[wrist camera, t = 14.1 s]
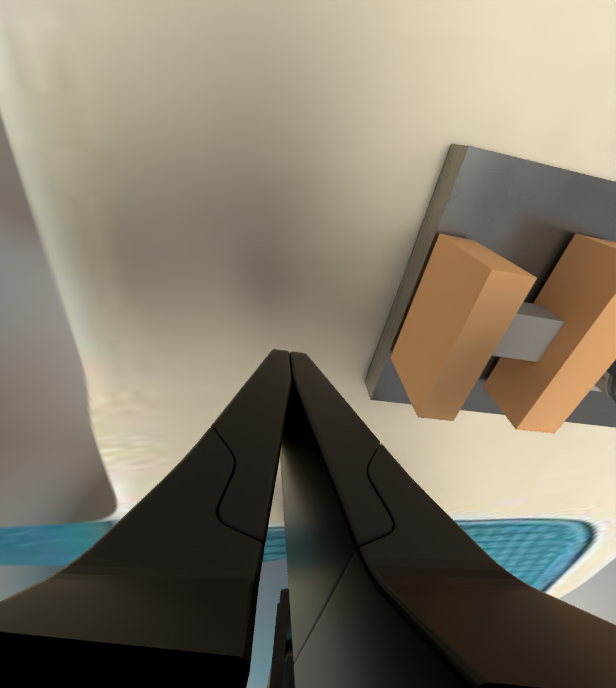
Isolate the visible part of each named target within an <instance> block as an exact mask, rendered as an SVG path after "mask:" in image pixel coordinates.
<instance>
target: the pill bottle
mask: <svg viewBox="0 0 616 688" xmlns="http://www.w3.org/2000/svg"><path fill="white" fill-rule="evenodd" d="M595 386H596V387H597V388H598V389H599V390H601V391H602V392H603V393H604V394H605V395H606V396H608V397H609V398H610V399H611V400H612V401H614V402H615V403H616V360H615V361H614V362H613V363H612V364H611V366H610V367H609V368H608V369H607V370H606V372H605V373H604V374H603V375H602V377H601V378H600V379H599V380H598V381H597V383H596V384H595Z"/></svg>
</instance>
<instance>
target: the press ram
mask: <svg viewBox="0 0 616 688" xmlns="http://www.w3.org/2000/svg"><path fill="white" fill-rule="evenodd" d="M536 279H537V277H535V276H533V275H532V274H530V273H528V272H527V271H525V270H523V269H522V268H520V267H518V266H516V265H515V264H513V263H511V262H510V261H508V260H506V259H505V258H503V257H501V256H500V255H498V254H496V253H495V252H493V251H491V250H490V249H488V248H486V247H485V246H483V245H481V244H480V243H478V242H476V241H475V240H470V239H465V238H460V237H455V236H450V235H445V234H439V236H438V239H437V241H436V244H435V246H434V249H433V251H432V254H431V256H430V259H429V262H428V264H427V267H426V269H425V272H424V274H423V277H422V279H421V282H420V284H419V287H418V289H417V292H416V294H415V297H414V299H413V302H412V304H411V307H410V310H409V312H408V315H407V317H406V320H405V322H404V325H403V327H402V330H401V332H400V335H399V337H398V340H397V342H396V345H395V347H394V350H393V352H392V355H391V357H390V358H391V360H392V362H393V364H394V366H395V369H396V371H397V373H398V375H399V377H400V379H401V382H402V384H403V386H404V388H405V390H406V392H407V395H408V397H409V399H410V401H411V403H412V405H413V408H414V410H415V412H416V414H417V416H418V417H421V418H431V419H440V420H449V421H454V419H455V417H456V416H457V414H458V412H459V411H460V409H461V407H462V406H463V404H464V402H465V400H466V399H467V397H468V395H469V394H470V392H471V390H472V388H473V387H474V385H475V383H476V382H477V380H478V378H479V377H480V375H481V373H482V371H483V370H484V368H485V366H486V365H487V363H488V361H489V359H490V358H491V356H499V357H501V358H500V359H499V361H498V363H497V364H496V366H495V368H494V369H493V371H492V372H491V374H490V376H489V377H488V379H487V381H486V382H485V384H484V386H483V387H484V388H485V390H486V391H487V392H488V393H489V395H490V396H491V397H492V399H493V400H494V401H495V403H496V404H497V405H498V406H499V408H500V409H501V410H502V412H503V413H504V414H505V416H506V417H507V418H508V420H509V421H510V422H511V423H512V425H513V426H514V427H515V429H518V430H527V431H536V432H546V433H555V432H556V431H557V430H558V429H559V427H560V426H561V425H562V424H563V423H564V421H565V420H566V419H567V418H568V417H569V415H570V414H571V413H572V412H573V411H574V409H575V408H576V407H577V406H578V404H579V403H580V402H581V401H582V400H583V398H584V397H585V396H586V395H587V394H588V392H589V391H590V390H591V389H592V387H593V386H594V385H595V384H596V383H597V381H598V380H599V379H600V378H601V377H602V375H603V374H604V373H605V372H606V370H607V369H608V368H609V367H610V366H611V364H612V363H613V362H614V361H615V360H616V242H613V241H608V240H603V239H599V238H594V237H589V236H584V235H580V234H575V235H574V237H573V238H572V240H571V242H570V243H569V245H568V247H567V248H566V250H565V252H564V253H563V255H562V257H561V258H560V260H559V262H558V263H557V265H556V267H555V268H554V270H553V272H552V273H551V275H550V277H549V278H548V280H547V281H546V283H545V285H544V286H543V288H542V290H541V291H540V293H539V295H538V296H537V298H536V300H535V301H534V303H533V304H532V303H526V302H523V301H524V300H525V298H526V296H527V295H528V293H529V291H530V289H531V288H532V286H533V284H534V283H535V281H536Z"/></svg>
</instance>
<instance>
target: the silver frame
mask: <svg viewBox="0 0 616 688" xmlns="http://www.w3.org/2000/svg"><path fill="white" fill-rule="evenodd" d="M439 234H445V235H450V236H455V237H460V238H465V239H470V240H475V241H476V242H478V243H480V244H481V245H483V246H485V247H486V248H488V249H490V250H491V251H493V252H495V253H496V254H498V255H500V256H501V257H503V258H505V259H506V260H508V261H510V262H511V263H513V264H515V265H516V266H518V267H520V268H522V269H523V270H525V271H527V272H528V273H530V274H532V275H533V276H535V277H537V279H536V281H535V283H534V284H533V286H532V288H531V289H530V291H529V293H528V295H527V296H526V298H525V300H524V301H523V302H526V303H532V304H533V303H534V301H535V300H536V298H537V296H538V295H539V293H540V291H541V290H542V288H543V286H544V285H545V283H546V281H547V280H548V278H549V277H550V275H551V273H552V272H553V270H554V268H555V267H556V265H557V263H558V262H559V260H560V258H561V257H562V255H563V253H564V252H565V250H566V248H567V247H568V245H569V243H570V242H571V240H572V238H573V237H574V235H575V234H580V235H584V236H589V237H594V238H599V239H603V240H608V241H613V242H616V182H614V181H610V180H606V179H602V178H598V177H593V176H589V175H585V174H581V173H577V172H573V171H569V170H565V169H561V168H557V167H553V166H549V165H545V164H541V163H537V162H533V161H529V160H524V159H520V158H516V157H512V156H508V155H504V154H500V153H496V152H492V151H488V150H484V149H480V148H476V147H472V146H465V145H456V144H451V147H450V150H449V153H448V155H447V158H446V161H445V164H444V166H443V169H442V172H441V175H440V177H439V180H438V183H437V186H436V188H435V191H434V194H433V197H432V199H431V202H430V205H429V207H428V210H427V213H426V216H425V218H424V221H423V224H422V227H421V229H420V232H419V235H418V238H417V240H416V243H415V246H414V249H413V251H412V254H411V257H410V260H409V262H408V265H407V268H406V271H405V273H404V276H403V279H402V282H401V284H400V287H399V290H398V293H397V295H396V298H395V301H394V303H393V306H392V309H391V312H390V314H389V317H388V320H387V323H386V325H385V328H384V331H383V334H382V336H381V339H380V342H379V345H378V347H377V350H376V353H375V356H374V358H373V361H372V364H371V367H370V369H369V372H368V375H367V378H366V380H365V384H366V387H367V390H368V393H369V397H370V400H378V401H387V402H396V403H405V404H412V403H411V401H410V399H409V397H408V395H407V392H406V390H405V388H404V386H403V384H402V382H401V379H400V377H399V375H398V373H397V371H396V369H395V366H394V364H393V362H392V360H391V358H390V357H391V355H392V352H393V350H394V347H395V345H396V342H397V340H398V337H399V335H400V332H401V330H402V327H403V325H404V322H405V320H406V317H407V315H408V312H409V310H410V307H411V304H412V302H413V299H414V297H415V294H416V292H417V289H418V287H419V284H420V282H421V279H422V277H423V274H424V272H425V269H426V267H427V264H428V262H429V259H430V256H431V254H432V251H433V249H434V246H435V244H436V241H437V239H438V236H439ZM500 358H501V357H499V356H491V358H490V359H489V361H488V363H487V365H486V366H485V368H484V370H483V371H482V373H481V375H480V377H479V378H478V380H477V382H476V383H475V385H474V387H473V388H472V390H471V392H470V394H469V395H468V397H467V399H466V400H465V402H464V404H463V406H462V407H461V409H460V410H466V411H475V412H484V413H493V414H502V415H505V414H504V413H503V412H502V410H501V409H500V408H499V406H498V405H497V404H496V403H495V401H494V400H493V399H492V397H491V396H490V395H489V393H488V392H487V391H486V390H485V388H484V387H483V386H484V384H485V382H486V381H487V379H488V377H489V376H490V374H491V372H492V371H493V369H494V368H495V366H496V364H497V363H498V361H499V359H500ZM564 422H572V423H581V424H590V425H599V426H608V427H616V403H615V402H614V401H612V400H611V399H610V398H609V397H608V396H606V395H605V394H604V393H603V392H602V391H601V390H599V389H598V388H597V387H596V386H595V385H594V386H593V387H592V389H591V390H590V391H589V392H588V394H587V395H586V396H585V397H584V398H583V400H582V401H581V402H580V403H579V404H578V406H577V407H576V408H575V409H574V411H573V412H572V413H571V414H570V415H569V417H568V418H567V419H566V420H565V421H564Z"/></svg>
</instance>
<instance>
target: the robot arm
mask: <svg viewBox="0 0 616 688" xmlns="http://www.w3.org/2000/svg"><path fill="white" fill-rule="evenodd" d="M279 458H280V460H281V476H282V491H283V506H284V522H285V537H286V553H287V567H288V582H289V588H287V589H281V595H280V603H278V604H277V616H276V626H275V636H274V646H273V657H272V665H271V670H270V675H269V680H268V685H267V688H616V625H614V624H612V623H610V622H608V621H606V620H603V619H601V618H599V617H597V616H595V615H592V614H590V613H588V612H586V611H584V610H581V609H579V608H577V607H575V606H572V605H570V604H568V603H566V602H564V601H561V600H559V599H557V598H555V597H553V596H550V595H548V594H546V593H544V592H542V591H540V590H538V589H535V588H533V587H531V586H530V585H528V584H526V583H524V582H523V581H521V580H519V579H518V578H516V577H515V576H513V575H512V574H511V573H509V572H508V571H506V570H505V569H504V568H503V567H501V566H500V565H499V564H498V563H497V562H495V561H494V560H493V559H492V558H491V557H490V556H489V555H488V554H487V553H486V552H485V551H484V550H483V549H482V548H481V547H480V546H479V545H478V544H477V543H476V542H475V541H474V540H473V539H472V538H471V537H470V536H469V535H468V534H467V533H466V532H465V531H464V530H463V529H462V528H461V527H460V526H459V525H458V524H457V523H456V522H455V521H454V520H453V519H452V518H451V517H450V516H449V515H448V514H446V513H445V512H444V511H443V510H442V509H441V508H440V507H439V506H438V505H437V504H436V503H435V502H434V501H433V500H432V499H431V498H430V497H429V495H428V494H427V493H426V492H425V491H424V490H423V489H422V488H421V487H420V486H419V485H418V484H417V483H416V482H415V481H414V480H413V479H412V478H411V477H410V476H409V475H408V473H407V472H406V471H405V470H404V469H403V468H402V467H401V466H400V464H399V463H398V462H397V461H396V460H395V459H394V458H393V456H392V455H391V454H390V453H389V452H388V451H387V449H386V448H385V447H384V446H383V445H382V444H380V441H379V440H378V439H377V438H376V436H375V435H374V434H373V433H372V432H371V430H370V429H369V428H368V427H367V426H366V424H365V423H364V422H363V421H362V420H361V419H360V417H359V416H358V415H357V414H356V413H355V411H354V410H353V409H352V408H351V407H350V405H349V404H348V403H347V402H346V401H345V399H344V398H343V397H342V396H341V395H340V393H339V392H338V391H337V390H336V389H335V388H334V386H333V385H332V384H331V383H330V382H329V380H328V379H327V378H326V377H325V376H324V374H323V373H322V372H321V371H320V370H319V368H318V367H317V366H316V365H315V364H314V362H313V361H312V360H311V359H310V358H309V357H308V355H307V354H305V353H298V352H290V353H289V352H288V351H284V350H276V349H273V350H272V351H271V352H270V353H269V354H268V356H267V357H266V358H265V359H264V361H263V362H262V363H261V364H260V366H259V367H258V368H257V369H256V371H255V372H254V373H253V374H252V376H251V377H250V378H249V379H248V381H247V382H246V383H245V384H244V386H243V387H242V388H241V389H240V391H239V392H238V393H237V394H236V396H235V397H234V398H233V399H232V401H231V402H230V403H229V404H228V406H227V407H226V408H225V409H224V411H223V412H222V413H221V414H220V415H219V417H218V418H217V419H216V420H215V422H214V423H213V424H212V425H211V428H209V429H208V430H207V431H206V433H205V434H204V435H203V436H202V438H201V439H200V440H199V441H198V442H197V444H196V445H195V446H194V447H193V448H192V449H191V450H190V452H189V453H188V454H187V455H186V456H185V457H184V459H183V460H182V461H181V462H180V463H179V464H178V465H177V466H176V467H175V468H174V469H173V470H172V471H171V472H170V473H169V474H168V475H167V476H166V477H165V478H164V479H163V480H162V481H161V482H160V483H159V484H157V485H156V486H155V487H154V488H153V489H152V490H151V491H150V492H149V493H148V494H147V495H146V496H145V497H144V498H143V499H142V500H141V501H140V502H139V503H138V504H136V505H135V506H134V507H133V508H132V509H131V510H130V511H129V512H128V513H127V514H126V515H125V516H124V517H123V518H122V519H121V520H120V521H119V522H118V523H117V524H115V525H114V526H113V527H112V528H111V529H110V530H109V531H108V532H107V533H106V534H105V535H104V536H103V537H102V538H101V539H100V540H98V541H97V542H96V543H95V544H94V545H93V546H92V547H91V548H90V549H88V550H87V551H86V552H85V553H83V554H82V555H81V556H80V557H78V558H77V559H76V560H74V561H73V562H71V563H70V564H69V565H67V566H66V567H64V568H63V569H61V570H60V571H58V572H56V573H55V574H53V575H52V576H50V577H48V578H46V579H44V580H42V581H40V582H38V583H36V584H34V585H32V586H30V587H28V588H26V589H25V590H22V591H21V592H18V593H17V594H15V595H13V596H11V597H9V598H7V599H5V600H3V601H1V602H0V688H246V686H247V681H248V676H249V672H250V663H251V654H252V643H253V633H254V625H255V615H256V605H257V596H258V587H259V580H260V573H261V566H262V560H263V554H264V546H265V542H266V536H267V530H268V524H269V518H270V512H271V506H272V500H273V494H274V488H275V482H276V476H277V470H278V464H279Z"/></svg>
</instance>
